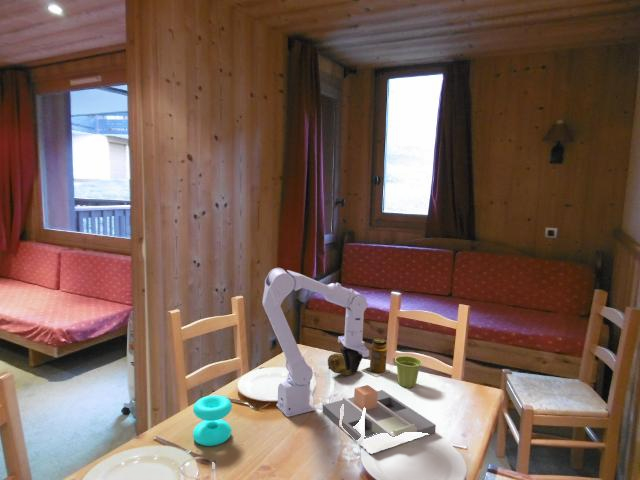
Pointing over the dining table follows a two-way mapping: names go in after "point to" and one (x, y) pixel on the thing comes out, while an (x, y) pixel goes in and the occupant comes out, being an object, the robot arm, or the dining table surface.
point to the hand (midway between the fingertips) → (351, 370)
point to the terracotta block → (365, 397)
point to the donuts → (212, 420)
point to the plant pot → (407, 370)
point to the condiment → (377, 358)
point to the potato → (338, 364)
